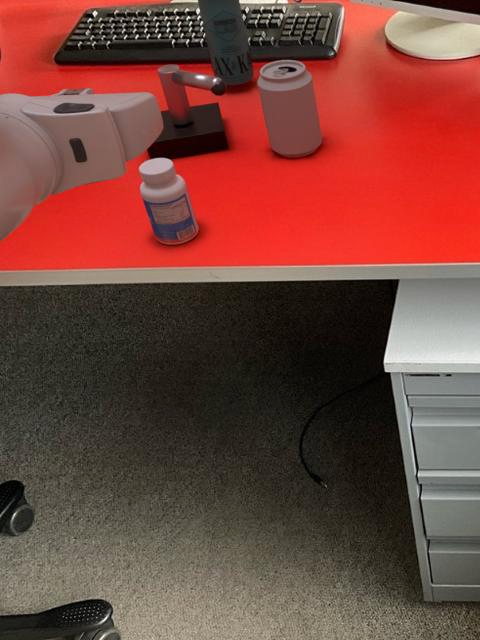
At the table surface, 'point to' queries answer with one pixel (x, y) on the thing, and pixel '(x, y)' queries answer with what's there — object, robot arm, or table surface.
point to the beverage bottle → (227, 40)
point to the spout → (176, 93)
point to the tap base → (191, 134)
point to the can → (289, 108)
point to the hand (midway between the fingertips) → (81, 96)
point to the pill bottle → (167, 202)
